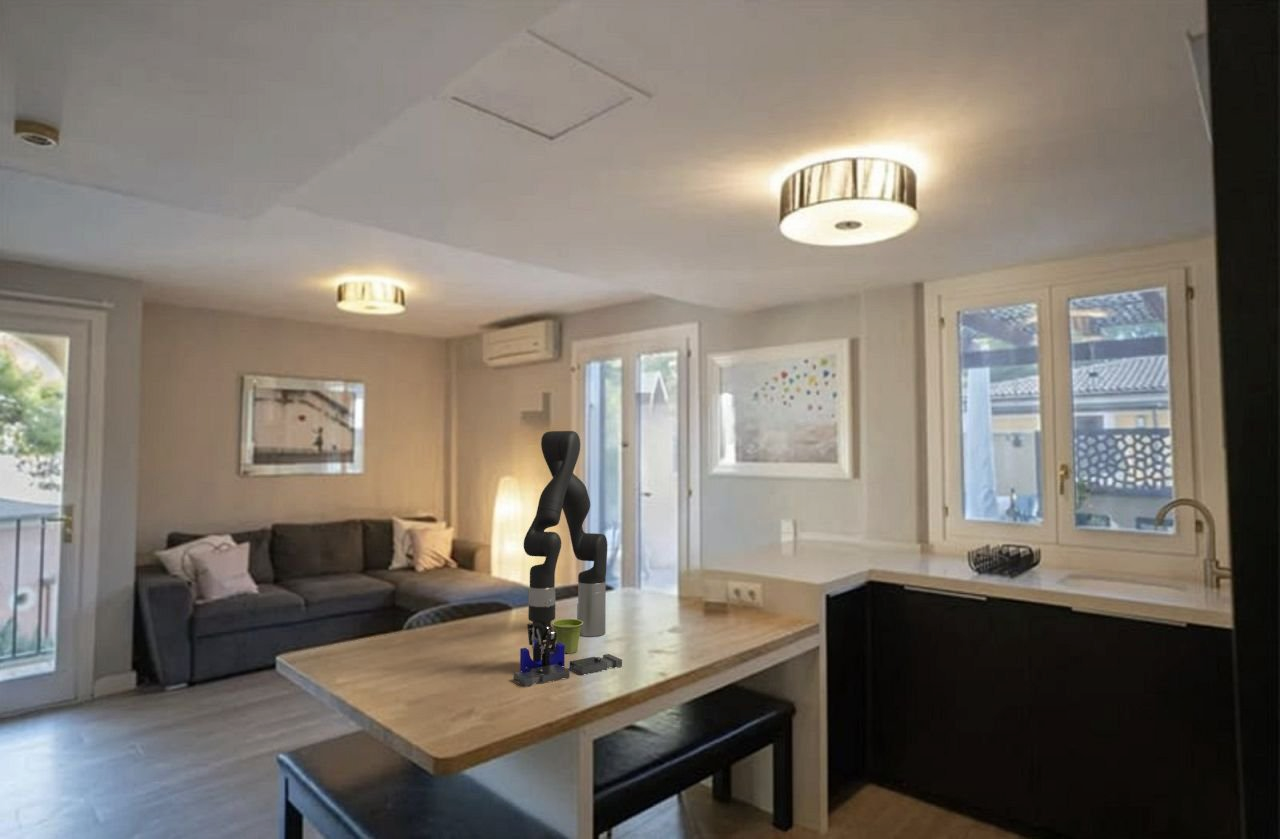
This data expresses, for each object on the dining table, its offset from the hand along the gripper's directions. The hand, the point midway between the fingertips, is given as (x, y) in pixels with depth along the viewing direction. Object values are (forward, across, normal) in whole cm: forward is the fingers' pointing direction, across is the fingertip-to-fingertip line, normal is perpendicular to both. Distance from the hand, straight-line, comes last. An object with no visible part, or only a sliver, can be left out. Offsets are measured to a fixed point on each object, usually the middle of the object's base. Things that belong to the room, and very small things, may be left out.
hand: (541, 664), depth 195 cm
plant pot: (+1, -10, +14) cm, 18 cm away
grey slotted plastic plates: (+1, +8, +4) cm, 10 cm away
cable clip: (+1, 0, 0) cm, 1 cm away
